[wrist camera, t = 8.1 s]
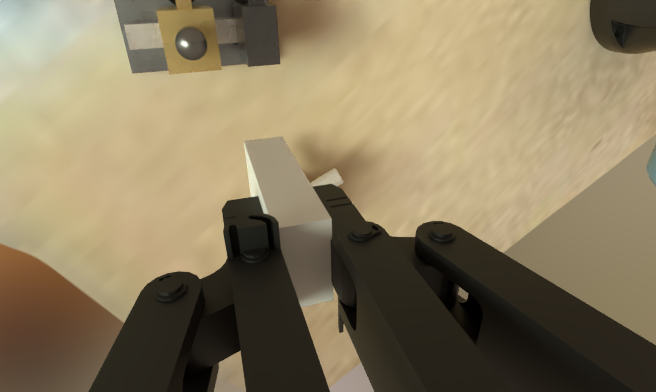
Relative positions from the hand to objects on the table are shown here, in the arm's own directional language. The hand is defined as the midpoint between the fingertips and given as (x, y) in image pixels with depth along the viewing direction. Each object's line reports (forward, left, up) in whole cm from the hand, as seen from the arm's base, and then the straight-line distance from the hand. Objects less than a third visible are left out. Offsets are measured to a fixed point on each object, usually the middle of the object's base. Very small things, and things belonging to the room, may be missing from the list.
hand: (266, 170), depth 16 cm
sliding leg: (+2, -4, -23) cm, 23 cm away
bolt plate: (+1, -4, -25) cm, 25 cm away
